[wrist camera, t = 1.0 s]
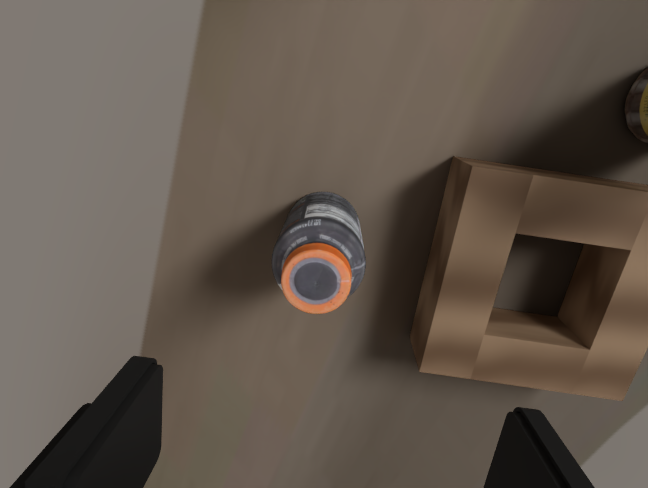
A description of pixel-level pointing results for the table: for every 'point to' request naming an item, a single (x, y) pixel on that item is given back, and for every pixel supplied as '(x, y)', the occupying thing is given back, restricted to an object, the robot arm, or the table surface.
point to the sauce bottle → (638, 107)
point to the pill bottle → (319, 253)
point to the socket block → (528, 328)
